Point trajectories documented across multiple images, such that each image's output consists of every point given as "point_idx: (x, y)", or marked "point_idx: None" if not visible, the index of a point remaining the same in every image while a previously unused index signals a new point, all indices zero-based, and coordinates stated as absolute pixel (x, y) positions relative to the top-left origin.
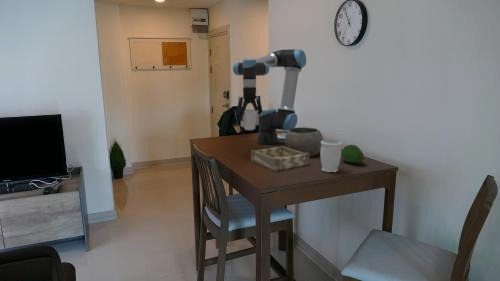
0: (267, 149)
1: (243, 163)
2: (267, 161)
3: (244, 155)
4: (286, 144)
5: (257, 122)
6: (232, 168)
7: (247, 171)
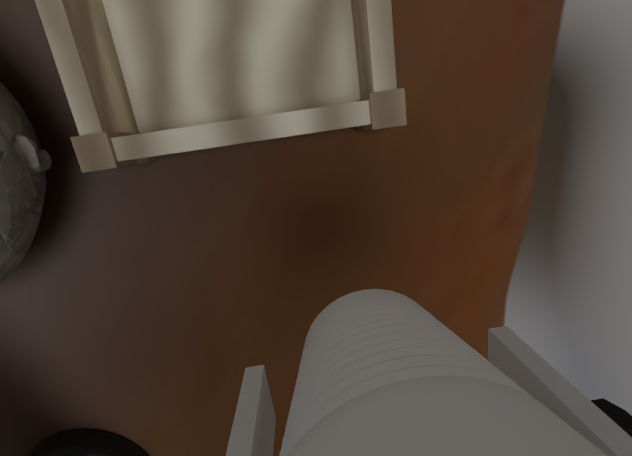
0: (258, 118)
1: (444, 107)
2: None
3: (350, 273)
4: (32, 207)
5: (260, 396)
6: (559, 28)
7: None
